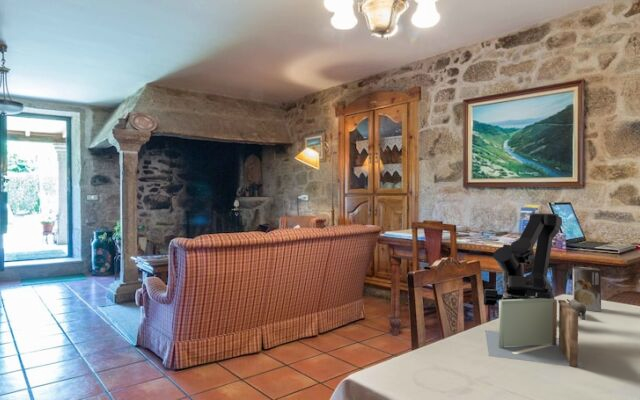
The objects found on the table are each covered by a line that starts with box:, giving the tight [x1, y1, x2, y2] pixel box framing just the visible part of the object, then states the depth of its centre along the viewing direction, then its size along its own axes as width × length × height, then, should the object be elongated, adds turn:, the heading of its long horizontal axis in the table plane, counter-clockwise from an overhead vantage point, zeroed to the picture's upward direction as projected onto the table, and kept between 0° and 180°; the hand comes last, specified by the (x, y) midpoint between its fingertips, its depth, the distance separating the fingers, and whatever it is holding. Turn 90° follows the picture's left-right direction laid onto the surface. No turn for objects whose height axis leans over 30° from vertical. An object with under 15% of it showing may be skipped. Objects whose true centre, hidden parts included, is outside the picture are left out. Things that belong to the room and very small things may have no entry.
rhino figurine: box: [566, 298, 587, 321], centre depth 153 cm, size 4×14×6 cm, turn 166°
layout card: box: [484, 329, 585, 369], centre depth 120 cm, size 23×22×1 cm
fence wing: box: [498, 298, 558, 348], centre depth 120 cm, size 2×18×14 cm, turn 100°
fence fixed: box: [557, 299, 579, 368], centre depth 112 cm, size 16×2×14 cm, turn 161°
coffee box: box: [572, 266, 602, 313], centre depth 162 cm, size 9×6×16 cm
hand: (518, 324), depth 121 cm, fingers closed
